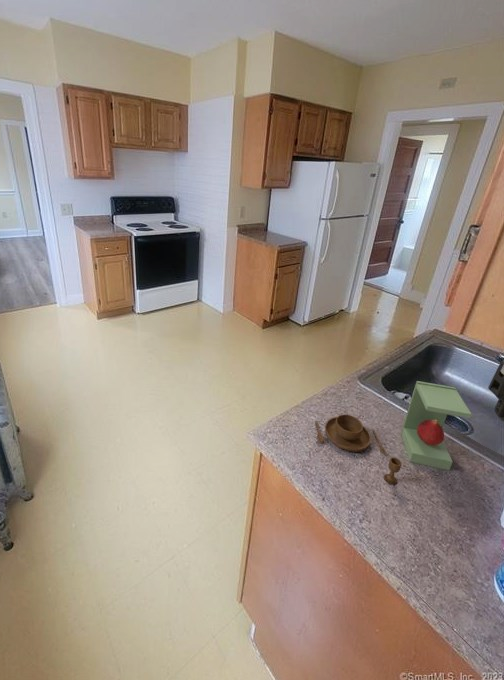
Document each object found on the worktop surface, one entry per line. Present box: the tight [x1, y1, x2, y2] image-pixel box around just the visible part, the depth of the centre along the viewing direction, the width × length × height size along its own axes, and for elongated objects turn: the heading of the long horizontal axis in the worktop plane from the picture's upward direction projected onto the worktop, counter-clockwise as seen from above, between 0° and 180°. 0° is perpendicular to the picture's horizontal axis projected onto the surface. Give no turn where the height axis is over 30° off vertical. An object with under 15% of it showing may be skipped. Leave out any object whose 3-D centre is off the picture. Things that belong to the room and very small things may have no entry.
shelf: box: [400, 380, 473, 471], centre depth 82 cm, size 10×9×18 cm
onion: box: [417, 420, 445, 445], centre depth 83 cm, size 6×6×8 cm
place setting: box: [314, 414, 403, 486], centre depth 85 cm, size 18×20×6 cm
